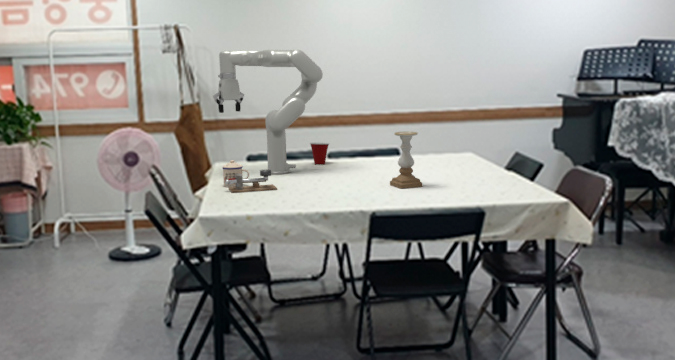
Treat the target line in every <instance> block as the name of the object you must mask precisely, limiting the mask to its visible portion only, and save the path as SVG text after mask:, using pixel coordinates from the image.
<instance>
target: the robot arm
mask: <svg viewBox="0 0 675 360" xmlns="http://www.w3.org/2000/svg"><path fill="white" fill-rule="evenodd" d="M218 58H219V59H218V60H219V74H218V77H217V78H219V81H218V91H217V93H214V95H212V97H213V99H214V101H215V103H216V104H217V106H218V113H222V114H223V113H224V111H225V109H224V104H223V103H224V102H225V101H235V102H236V103H235V104H234V105H235V112H241V104H242V102H243V100H244V97H245V94H244V93H243V92H242V91H241V89H240V84H239V80H238V79H237V78H236V77H237V75H236V66H239V67H263V68H265V67H266V68H296V70H297V71H298V72H300V76H301V78H300V79H301V82H300V85H299V86H298V87H297V88H296V89H295V90H294V91H293V92H292V93H291V94H290V95H289V96H287V97H286V98H285V99H284V100H283V102H282V105H281V107H280V108H279V109H277V110H276V109H274V110H271V111H269V112H268V113H267V114H266V116H265V119H264V120H265V130H266V141H267V142H266V146H267V147H266V149H267V169H266V170H271V175H282V174H283V175H284V174H289V173H290V171H291V170H290V169H296V168H297V165H296V164H295V163H293V164H290V163H288V162H287V135H286V129H288V128H289V127H291V125H292V124H293V123H294V122H295V121H297V120H298V118H300V116H302V115H303V113H304V112H305V110H306V104H307V103H308V102H310V100H311V99H312V98H313V97H314V95H315V94H316V92H317V88H318V87H317V86H318V83H319V82H320V81H322V79H323V73H324V72H323V70H322V68H321V67H320V66H319V65H318V64H317V63H316V62H315V61H313V59H312V58H311V57H309V56H308V54H307V53H305V52H304V51H303V50H301V49H293V50H292V49H264V50H244V49H243V50H236V51H231V50H227V51H226V50H224V51H223V50H222V51H220V52H219V55H218Z"/></svg>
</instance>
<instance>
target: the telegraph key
mask: <svg viewBox="0 0 675 360" xmlns="http://www.w3.org/2000/svg"><path fill="white" fill-rule="evenodd" d="M243 179H244V178H243V174H242V175H241V174H235V180H237V184H235V187H228V190H229V192H230V193H231V194H237V193H252V192H266V191H268V192H269V191H277V190H278V187H277V186H275V185H274V184H272V183H271V184H260V182H255V183H252V185H246V186H245V185H244V183H243Z"/></svg>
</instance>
